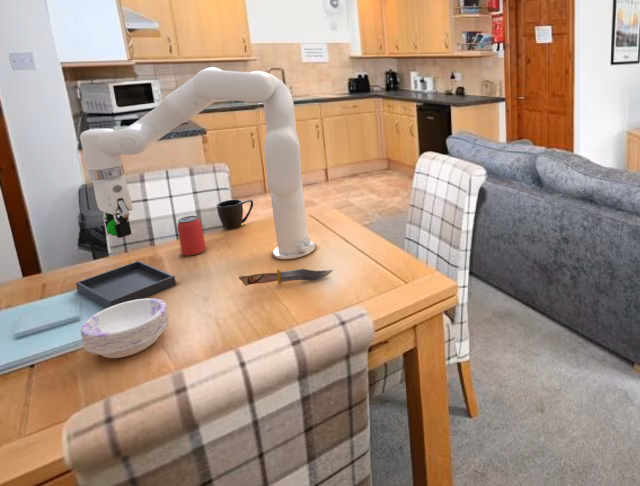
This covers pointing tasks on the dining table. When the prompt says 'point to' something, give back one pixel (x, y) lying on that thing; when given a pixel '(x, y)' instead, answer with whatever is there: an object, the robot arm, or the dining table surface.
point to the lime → (111, 227)
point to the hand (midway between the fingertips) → (119, 233)
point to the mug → (232, 213)
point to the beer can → (191, 235)
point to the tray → (125, 284)
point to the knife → (284, 276)
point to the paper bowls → (125, 328)
